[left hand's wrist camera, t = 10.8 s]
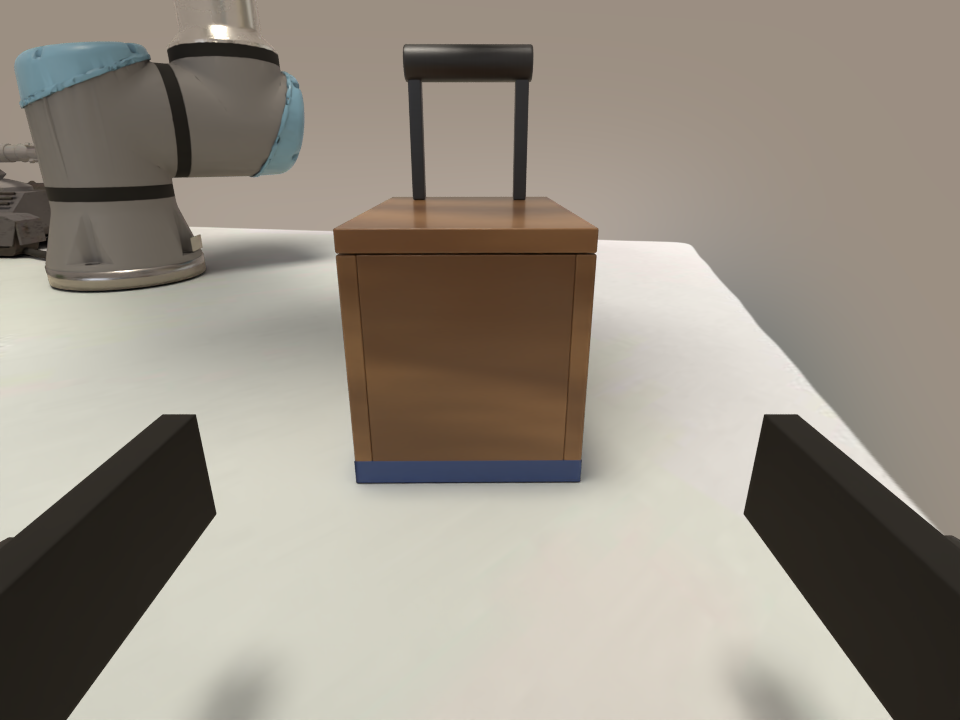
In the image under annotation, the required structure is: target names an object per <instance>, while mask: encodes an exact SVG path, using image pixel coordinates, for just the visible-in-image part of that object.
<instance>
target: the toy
mask: <svg viewBox="0 0 960 720" xmlns="http://www.w3.org/2000/svg"><path fill="white" fill-rule="evenodd" d="M16 161H22V162H28V161H29V162H30V163H35V162H38V159H37V155H36V151H35V147H34V144H30V143H25V144H24V145H23V144H18V145H11V144H0V162H16ZM5 175H6V173H5V172H3V171H2V170H0V256H15V255H19V254H24V253H23V250H24V249H25V248H30V249H35V250H37V249H38V246H39V242H41V241H46V237H48V236H49V226H50V217H51V208H50V204H49V200H48V196H47V192H46V189H45V186H44V183H35V182H34V181H30V182H29V183H23V182H19V181H14V180H10V179H3V177H4V176H5Z"/></svg>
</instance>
